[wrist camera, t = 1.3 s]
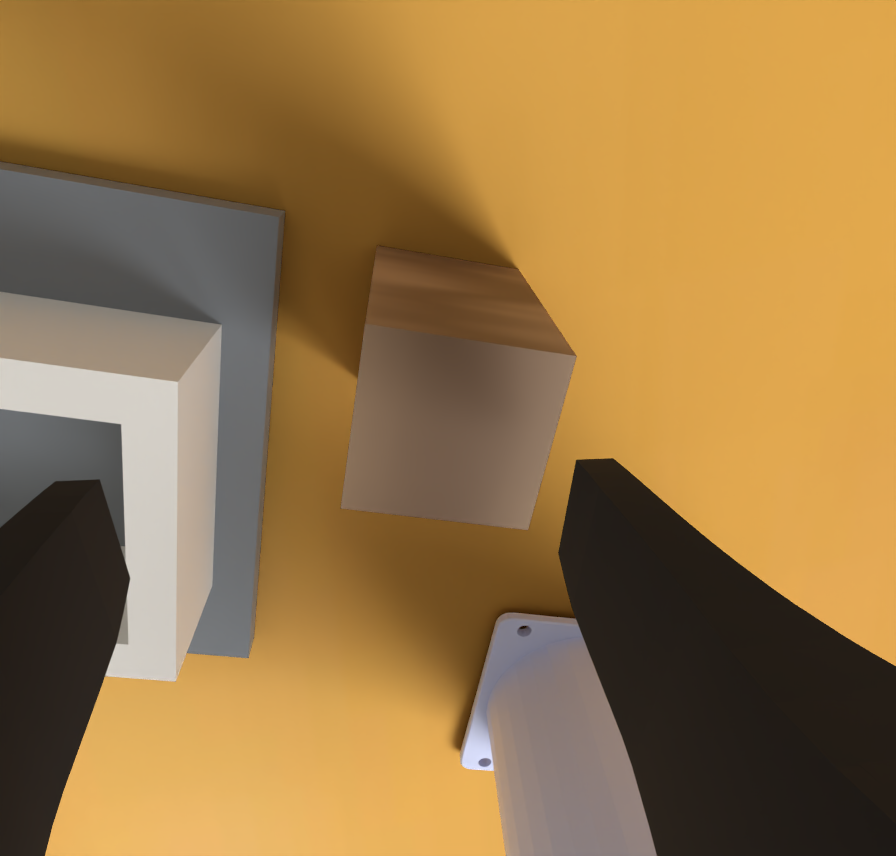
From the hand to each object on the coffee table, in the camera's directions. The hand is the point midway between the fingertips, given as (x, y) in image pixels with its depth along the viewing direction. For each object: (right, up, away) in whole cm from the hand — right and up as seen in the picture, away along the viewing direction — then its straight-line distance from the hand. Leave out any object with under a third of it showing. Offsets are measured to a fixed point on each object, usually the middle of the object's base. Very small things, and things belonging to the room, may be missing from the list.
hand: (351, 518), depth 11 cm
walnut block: (+1, +4, +9) cm, 10 cm away
